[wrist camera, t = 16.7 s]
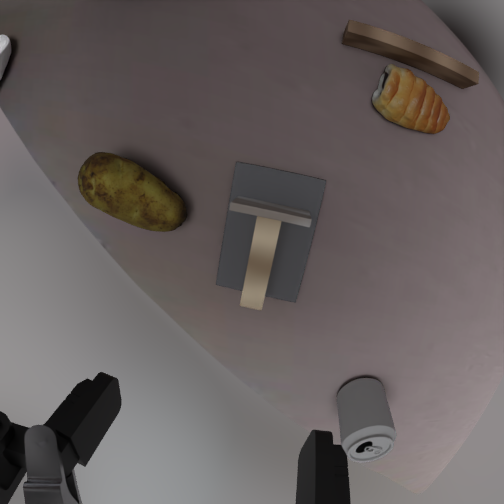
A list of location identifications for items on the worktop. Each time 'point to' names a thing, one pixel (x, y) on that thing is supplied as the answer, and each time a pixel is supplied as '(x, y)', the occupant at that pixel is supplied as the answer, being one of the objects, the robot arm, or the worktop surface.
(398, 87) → the pastry
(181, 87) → the worktop surface
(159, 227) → the potato
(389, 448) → the can
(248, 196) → the mat
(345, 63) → the worktop surface
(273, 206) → the scraper
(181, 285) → the worktop surface
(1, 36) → the skull bowl
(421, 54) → the rail
